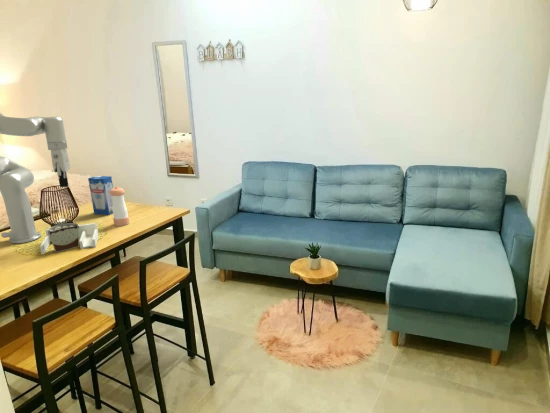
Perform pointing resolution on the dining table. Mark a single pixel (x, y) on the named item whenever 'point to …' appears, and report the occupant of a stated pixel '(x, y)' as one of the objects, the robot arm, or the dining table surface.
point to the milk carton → (101, 194)
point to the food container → (64, 236)
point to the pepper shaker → (119, 207)
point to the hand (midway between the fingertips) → (64, 186)
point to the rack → (86, 235)
